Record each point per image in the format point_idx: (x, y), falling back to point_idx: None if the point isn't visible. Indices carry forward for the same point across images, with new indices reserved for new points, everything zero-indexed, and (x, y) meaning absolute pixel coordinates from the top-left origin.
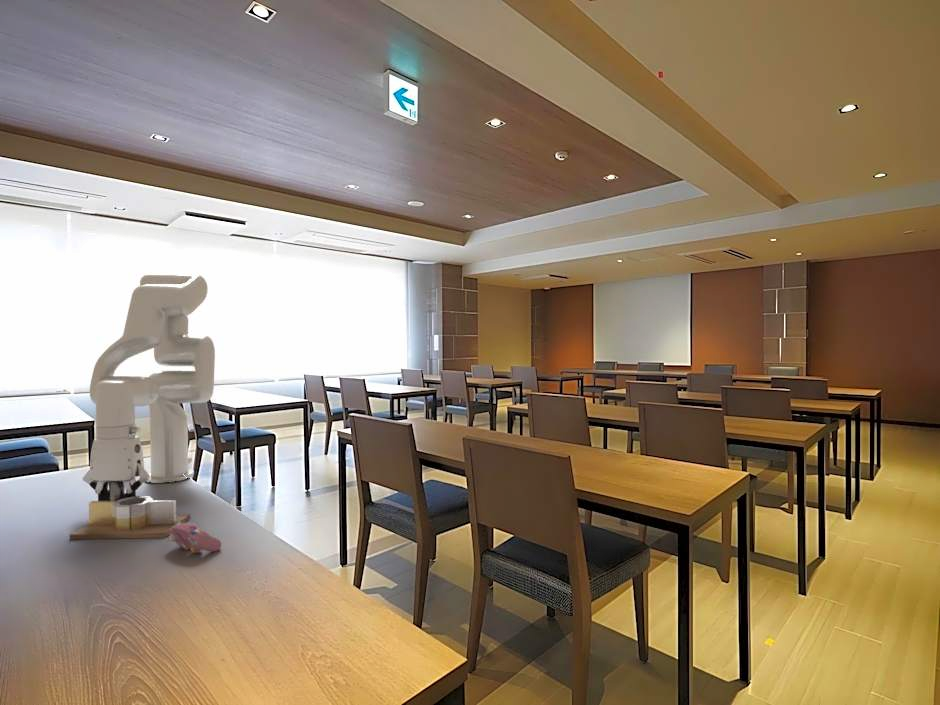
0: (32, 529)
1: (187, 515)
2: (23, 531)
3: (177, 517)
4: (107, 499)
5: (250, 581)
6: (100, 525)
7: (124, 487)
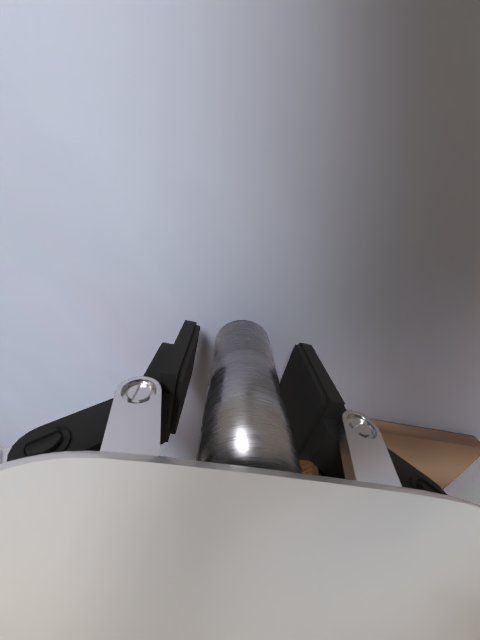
0: (34, 421)
1: (477, 456)
2: (20, 430)
3: (446, 463)
4: (189, 368)
5: None
6: None
7: (293, 438)
